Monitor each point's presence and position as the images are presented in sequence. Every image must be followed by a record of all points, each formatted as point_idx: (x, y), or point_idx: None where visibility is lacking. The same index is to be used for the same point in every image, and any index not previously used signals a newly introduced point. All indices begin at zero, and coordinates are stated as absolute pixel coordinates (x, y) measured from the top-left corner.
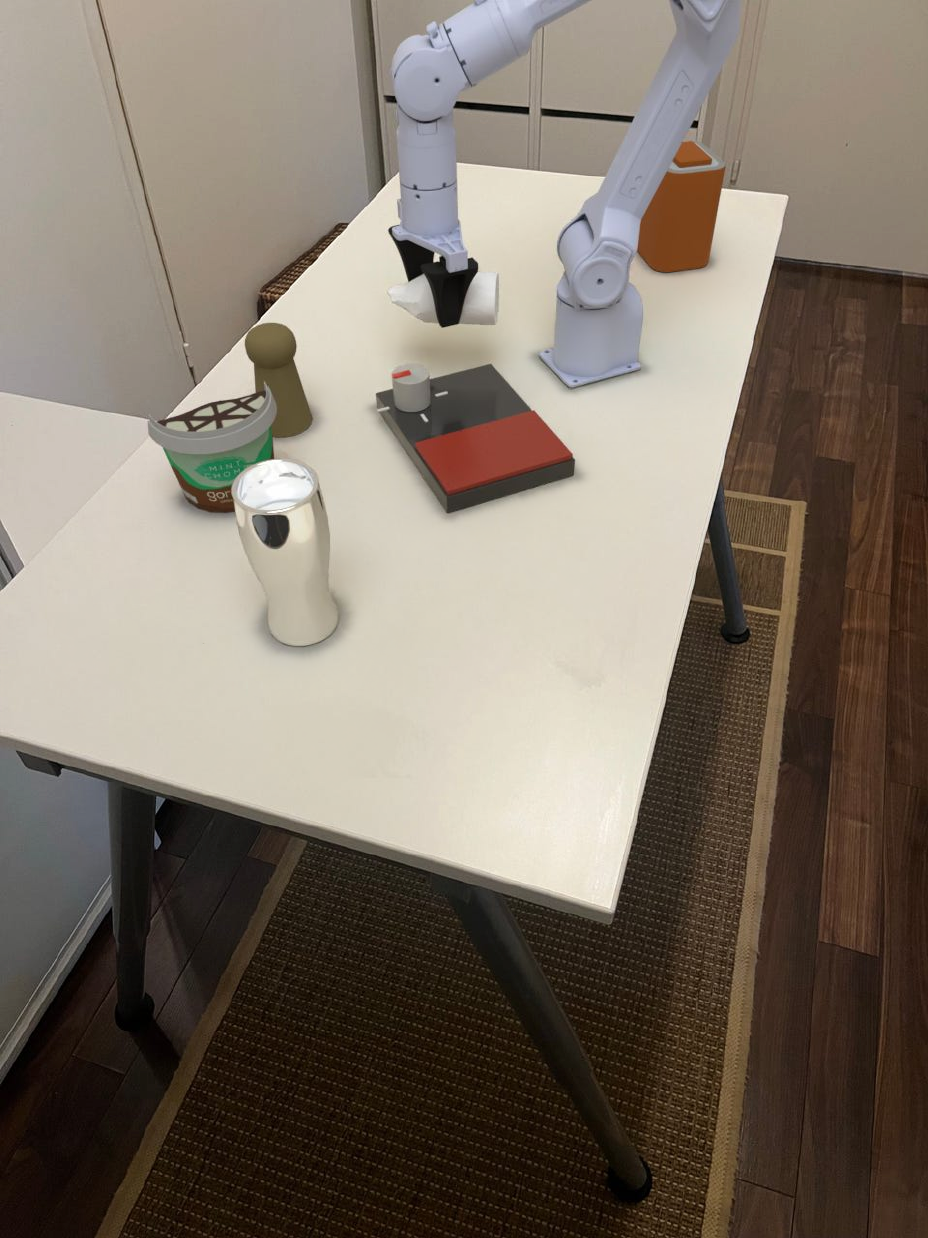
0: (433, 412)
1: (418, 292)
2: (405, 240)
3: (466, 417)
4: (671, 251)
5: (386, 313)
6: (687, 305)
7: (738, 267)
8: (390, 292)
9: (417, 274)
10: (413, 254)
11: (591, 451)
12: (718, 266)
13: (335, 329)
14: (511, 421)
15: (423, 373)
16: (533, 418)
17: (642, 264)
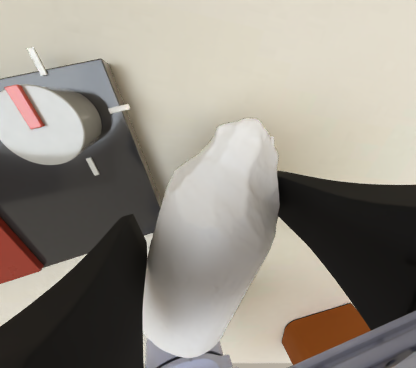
0: None
1: (193, 203)
2: (387, 236)
3: (26, 193)
4: (294, 345)
5: (332, 117)
6: (241, 337)
7: (273, 355)
8: (239, 126)
9: (291, 200)
10: (333, 222)
11: (16, 293)
12: (279, 347)
13: (331, 36)
14: (3, 249)
15: (43, 154)
16: (16, 270)
17: (301, 315)
